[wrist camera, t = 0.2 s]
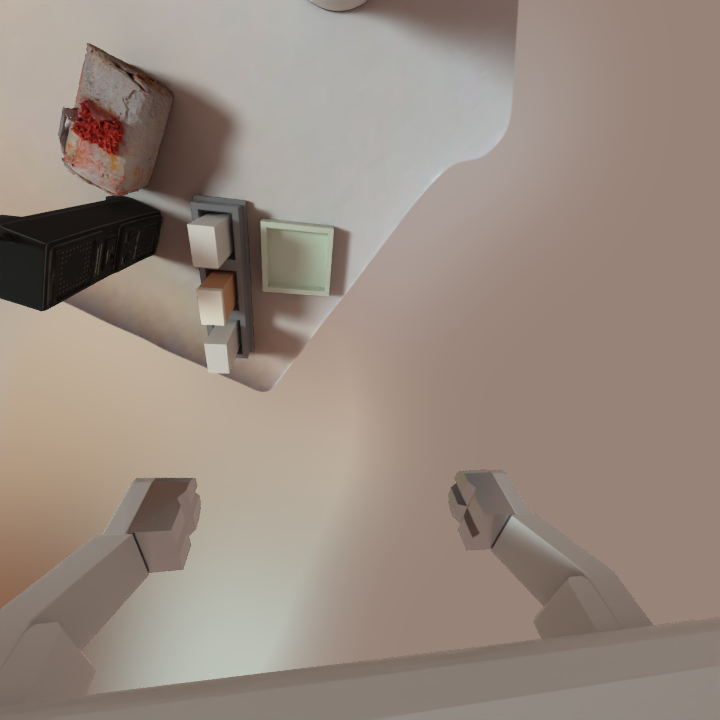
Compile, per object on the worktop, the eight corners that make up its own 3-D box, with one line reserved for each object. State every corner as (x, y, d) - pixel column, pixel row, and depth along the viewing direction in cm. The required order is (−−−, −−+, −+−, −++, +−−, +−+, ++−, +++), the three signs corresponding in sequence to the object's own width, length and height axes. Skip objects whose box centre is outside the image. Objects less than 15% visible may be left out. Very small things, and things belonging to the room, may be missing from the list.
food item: (152, 200, 46) (117, 209, 37) (87, 165, 43) (33, 166, 35) (183, 96, 41) (150, 80, 32) (111, 48, 38) (54, 17, 29)
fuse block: (194, 194, 46) (165, 203, 37) (246, 200, 47) (230, 210, 38) (214, 347, 59) (196, 383, 49) (254, 349, 60) (243, 384, 51)
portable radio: (155, 262, 50) (41, 338, 29) (110, 244, 48) (-47, 312, 27) (165, 213, 47) (45, 257, 26) (118, 191, 45) (-54, 220, 24)
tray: (262, 218, 49) (260, 221, 47) (332, 225, 50) (333, 228, 48) (264, 286, 54) (262, 291, 52) (328, 291, 56) (328, 296, 54)
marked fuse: (215, 268, 51) (196, 289, 42) (235, 269, 51) (220, 291, 43) (218, 298, 53) (201, 324, 45) (238, 299, 54) (224, 325, 45)
